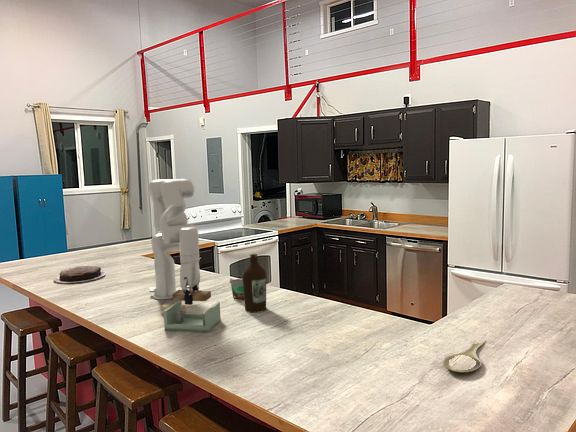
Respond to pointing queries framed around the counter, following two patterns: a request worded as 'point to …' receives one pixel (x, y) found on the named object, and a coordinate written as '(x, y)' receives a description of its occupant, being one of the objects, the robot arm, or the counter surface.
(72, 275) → the chocolate cake
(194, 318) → the frame
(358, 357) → the counter surface
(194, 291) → the board
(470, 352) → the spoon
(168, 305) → the tan rectangular bar
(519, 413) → the counter surface
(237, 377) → the counter surface
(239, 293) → the food container
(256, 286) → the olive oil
